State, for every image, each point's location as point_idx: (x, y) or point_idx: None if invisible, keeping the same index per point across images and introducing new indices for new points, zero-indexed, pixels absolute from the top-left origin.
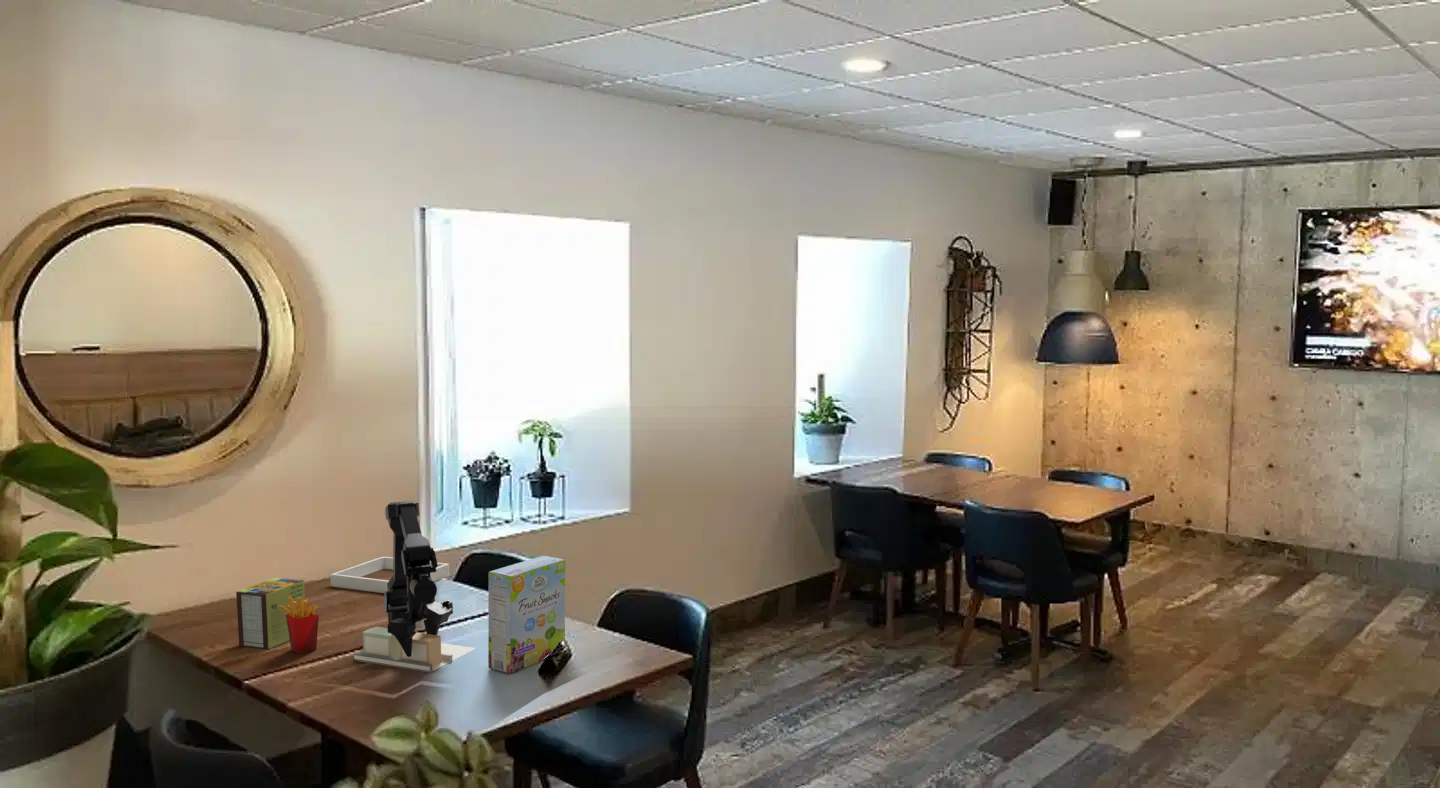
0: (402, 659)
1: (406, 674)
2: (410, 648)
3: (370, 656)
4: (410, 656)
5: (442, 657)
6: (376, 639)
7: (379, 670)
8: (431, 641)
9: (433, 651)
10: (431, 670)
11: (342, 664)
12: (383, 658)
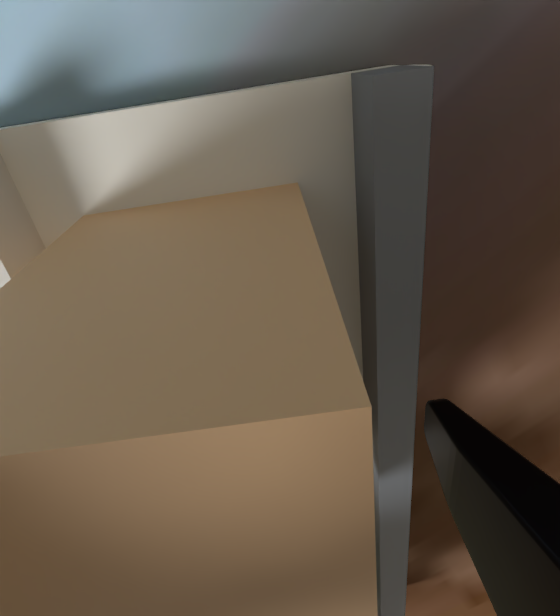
0: (379, 451)
1: (444, 292)
2: (533, 481)
3: (404, 598)
4: (443, 399)
5: (27, 257)
6: None
7: (434, 471)
8: (220, 398)
9: (190, 268)
10: (370, 71)
11: (422, 607)
12: (406, 543)
